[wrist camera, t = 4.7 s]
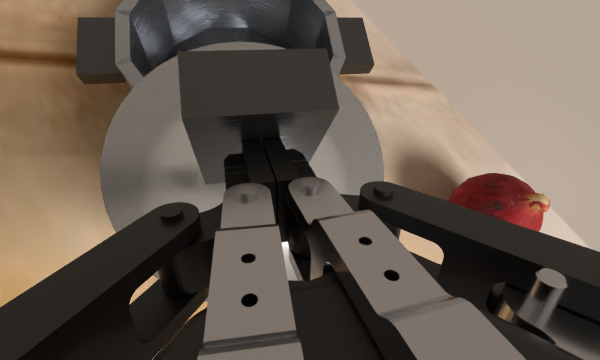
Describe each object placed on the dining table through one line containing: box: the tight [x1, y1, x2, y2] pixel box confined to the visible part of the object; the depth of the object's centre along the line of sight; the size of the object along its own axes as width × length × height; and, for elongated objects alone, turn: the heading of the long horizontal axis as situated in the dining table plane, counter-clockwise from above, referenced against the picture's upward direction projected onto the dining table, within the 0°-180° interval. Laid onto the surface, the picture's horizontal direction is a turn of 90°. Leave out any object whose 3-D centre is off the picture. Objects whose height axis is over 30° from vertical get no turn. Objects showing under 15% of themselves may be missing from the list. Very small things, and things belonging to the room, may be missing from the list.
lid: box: [100, 42, 384, 301], centre depth 14 cm, size 15×15×8 cm
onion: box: [449, 173, 550, 232], centre depth 24 cm, size 6×6×8 cm
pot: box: [76, 0, 374, 91], centre depth 24 cm, size 19×14×7 cm
